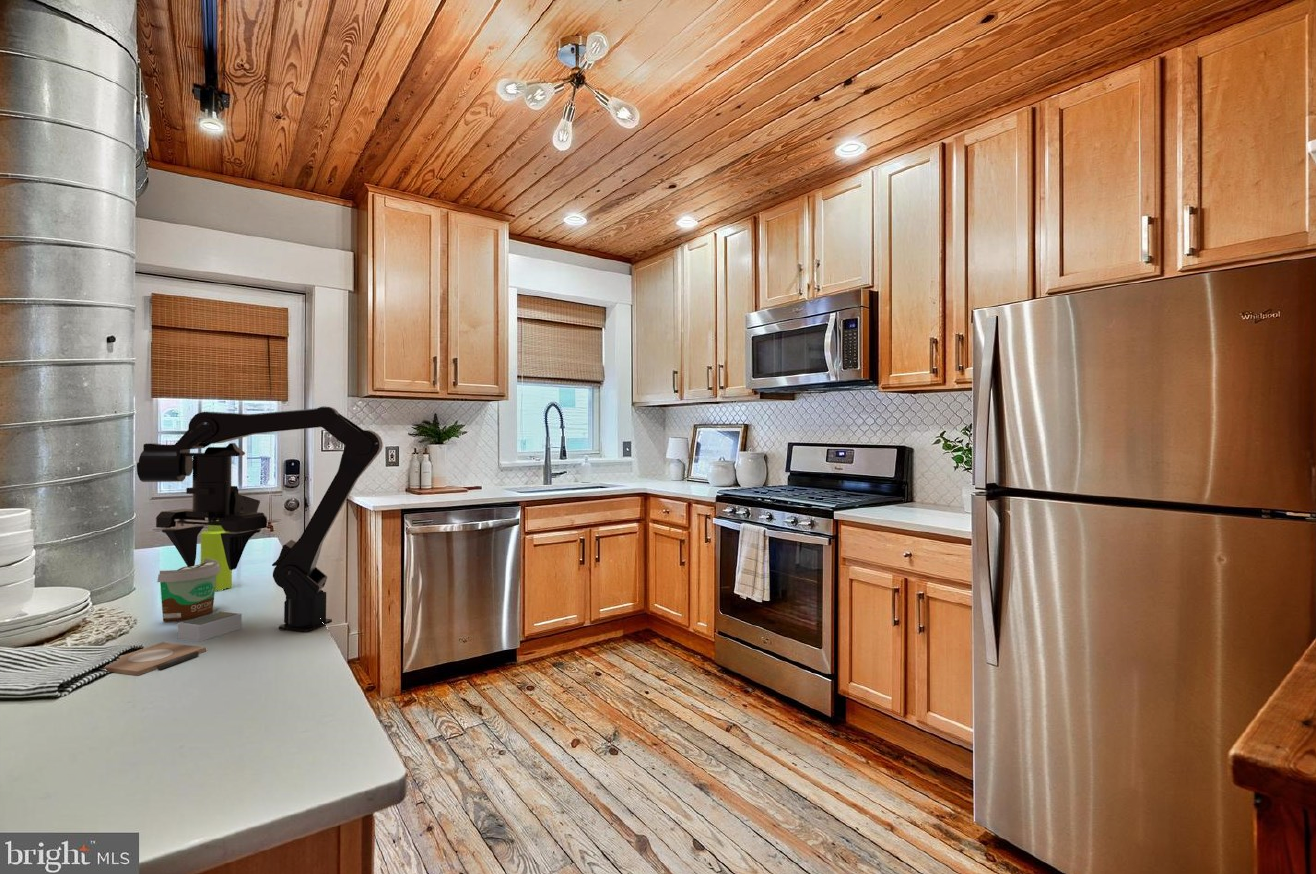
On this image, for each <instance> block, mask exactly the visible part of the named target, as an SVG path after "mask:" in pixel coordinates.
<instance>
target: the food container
mask: <svg viewBox="0 0 1316 874" xmlns="http://www.w3.org/2000/svg"><path fill="white" fill-rule="evenodd" d="M220 572H221V570H220V566H219V564H218V562H217V560H214V559H204V563H202V564H201V563H200V564H195V565H194V566H191V567H188V566H187V565H186V566H183V567H180V568H178V569H173V570H159V574H158V576H157V583H160V595H161V598H160V599H161V610H162V622H163V623H175V622H176V623H180V622H184V621H188V620H191V619H195V618H198V617H202V616H206V615H209V614H213V611H214V604H215V603H214V602H215V592H216V591H215V585H216V576H217V574H218V573H220Z"/></svg>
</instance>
